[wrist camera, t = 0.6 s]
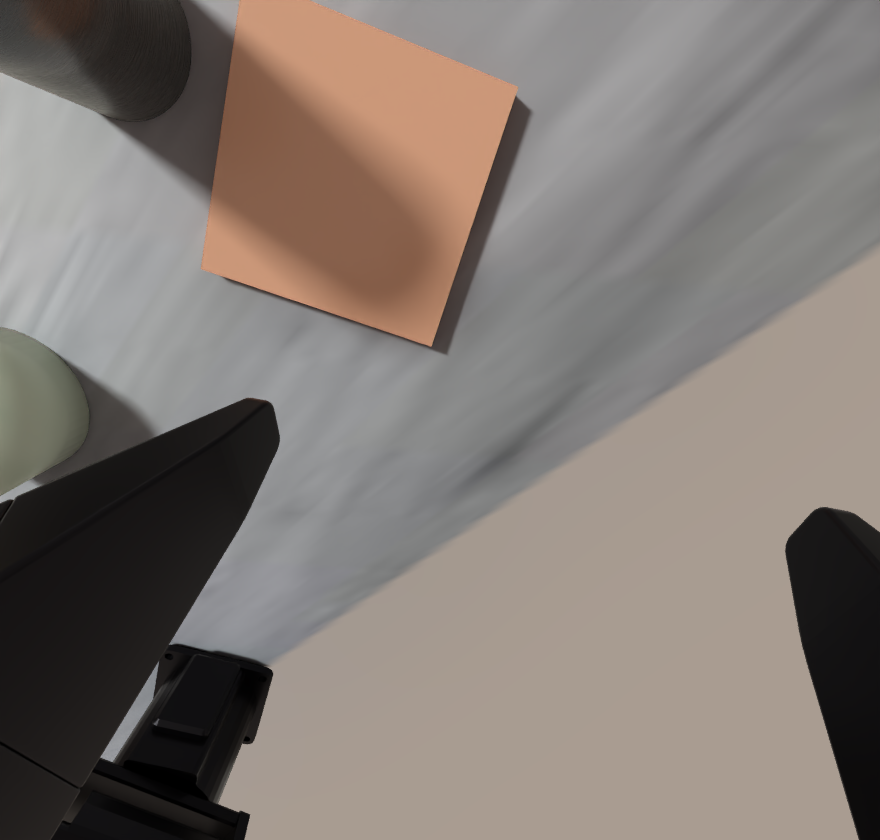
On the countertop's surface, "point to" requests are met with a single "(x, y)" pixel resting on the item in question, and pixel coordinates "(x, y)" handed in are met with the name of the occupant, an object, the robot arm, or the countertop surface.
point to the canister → (99, 52)
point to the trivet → (349, 166)
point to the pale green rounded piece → (36, 409)
